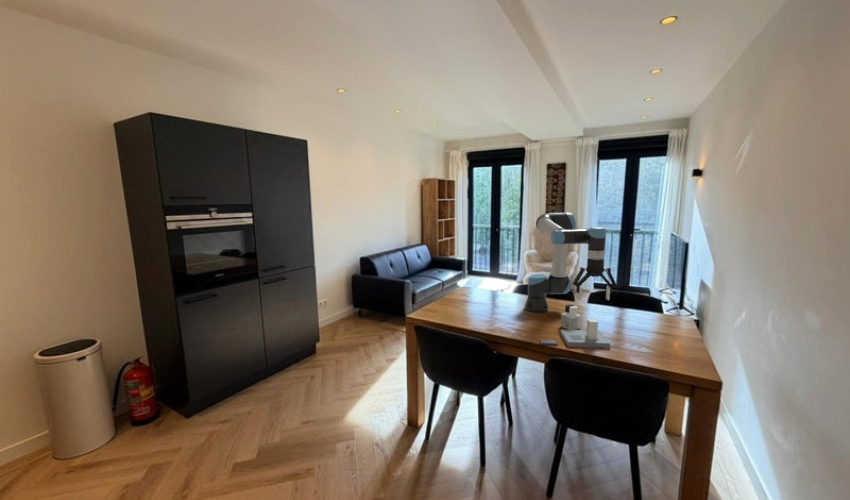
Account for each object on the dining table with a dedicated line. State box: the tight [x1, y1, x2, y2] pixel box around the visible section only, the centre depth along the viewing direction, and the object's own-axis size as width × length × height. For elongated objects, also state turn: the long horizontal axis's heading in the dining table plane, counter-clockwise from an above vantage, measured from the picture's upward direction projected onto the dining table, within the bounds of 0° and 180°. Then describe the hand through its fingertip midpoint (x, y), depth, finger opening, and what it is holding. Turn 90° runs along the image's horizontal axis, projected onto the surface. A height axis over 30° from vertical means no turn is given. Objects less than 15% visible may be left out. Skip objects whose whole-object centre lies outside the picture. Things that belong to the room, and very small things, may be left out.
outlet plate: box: [560, 329, 611, 349], centre depth 180 cm, size 16×20×3 cm
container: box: [560, 304, 582, 330], centre depth 197 cm, size 8×8×13 cm
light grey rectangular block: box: [586, 318, 599, 340], centre depth 177 cm, size 4×4×12 cm
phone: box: [539, 339, 558, 346], centre depth 178 cm, size 4×8×1 cm, turn 81°
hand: (593, 299), depth 175 cm, fingers open, 13 cm apart
